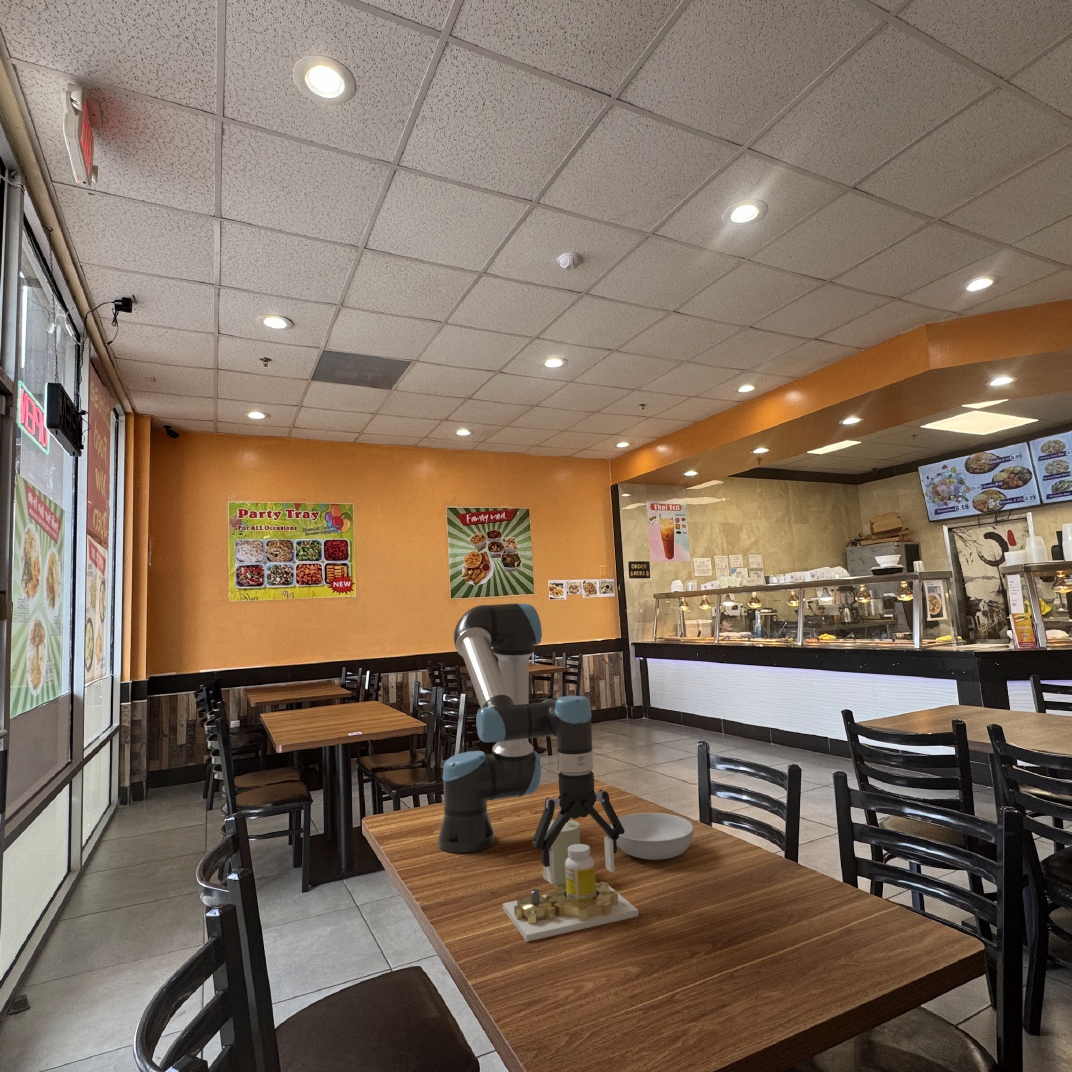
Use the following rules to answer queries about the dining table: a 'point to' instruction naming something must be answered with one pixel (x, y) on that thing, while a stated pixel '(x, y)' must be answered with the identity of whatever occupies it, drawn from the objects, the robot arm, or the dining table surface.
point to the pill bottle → (580, 874)
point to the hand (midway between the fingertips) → (580, 876)
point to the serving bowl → (654, 835)
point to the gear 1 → (535, 908)
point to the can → (563, 849)
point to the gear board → (568, 920)
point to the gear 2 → (586, 908)
